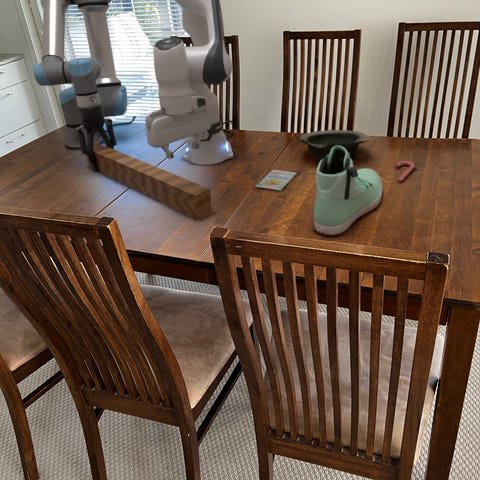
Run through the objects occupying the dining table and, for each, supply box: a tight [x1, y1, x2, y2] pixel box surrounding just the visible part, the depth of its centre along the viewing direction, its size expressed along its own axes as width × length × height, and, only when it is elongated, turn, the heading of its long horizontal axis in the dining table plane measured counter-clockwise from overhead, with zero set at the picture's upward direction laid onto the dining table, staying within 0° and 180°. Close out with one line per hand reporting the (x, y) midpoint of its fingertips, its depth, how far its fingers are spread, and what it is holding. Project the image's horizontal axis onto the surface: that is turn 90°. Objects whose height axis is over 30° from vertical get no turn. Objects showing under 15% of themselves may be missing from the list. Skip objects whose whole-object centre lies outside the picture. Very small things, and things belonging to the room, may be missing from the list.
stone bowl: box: [297, 129, 371, 164], centre depth 171 cm, size 25×25×9 cm
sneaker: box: [313, 146, 383, 236], centre depth 133 cm, size 14×35×20 cm, turn 152°
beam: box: [85, 143, 213, 221], centre depth 159 cm, size 65×6×8 cm, turn 44°
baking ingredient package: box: [255, 169, 297, 191], centre depth 159 cm, size 9×1×15 cm
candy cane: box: [395, 160, 416, 183], centre depth 157 cm, size 6×15×2 cm, turn 145°
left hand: (104, 168), depth 178 cm, fingers closed on beam, 6 cm apart
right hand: (183, 153), depth 136 cm, fingers open, 8 cm apart
